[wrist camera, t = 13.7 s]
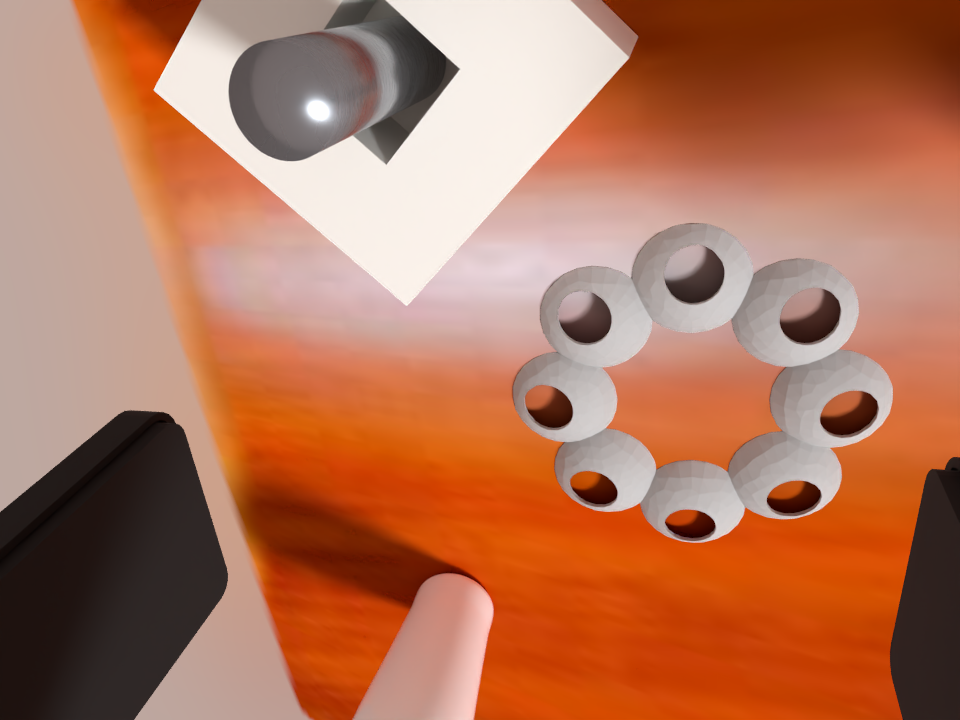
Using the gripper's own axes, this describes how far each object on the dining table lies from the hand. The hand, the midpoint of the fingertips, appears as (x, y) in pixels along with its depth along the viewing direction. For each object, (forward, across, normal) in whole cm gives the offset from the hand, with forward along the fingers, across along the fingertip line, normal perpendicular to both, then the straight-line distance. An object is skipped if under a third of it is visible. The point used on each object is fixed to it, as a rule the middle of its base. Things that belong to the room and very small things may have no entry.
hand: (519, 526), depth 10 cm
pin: (+27, +10, -3) cm, 29 cm away
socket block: (+30, +10, -3) cm, 32 cm away
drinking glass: (+30, +12, +32) cm, 45 cm away
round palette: (+31, -2, +16) cm, 35 cm away
